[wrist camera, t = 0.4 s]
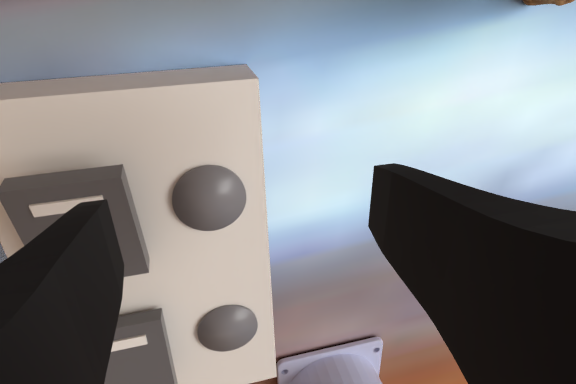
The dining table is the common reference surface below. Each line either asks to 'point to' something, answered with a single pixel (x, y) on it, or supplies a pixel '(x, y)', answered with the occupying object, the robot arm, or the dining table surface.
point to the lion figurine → (547, 2)
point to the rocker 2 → (141, 351)
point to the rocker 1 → (68, 193)
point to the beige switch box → (168, 198)
